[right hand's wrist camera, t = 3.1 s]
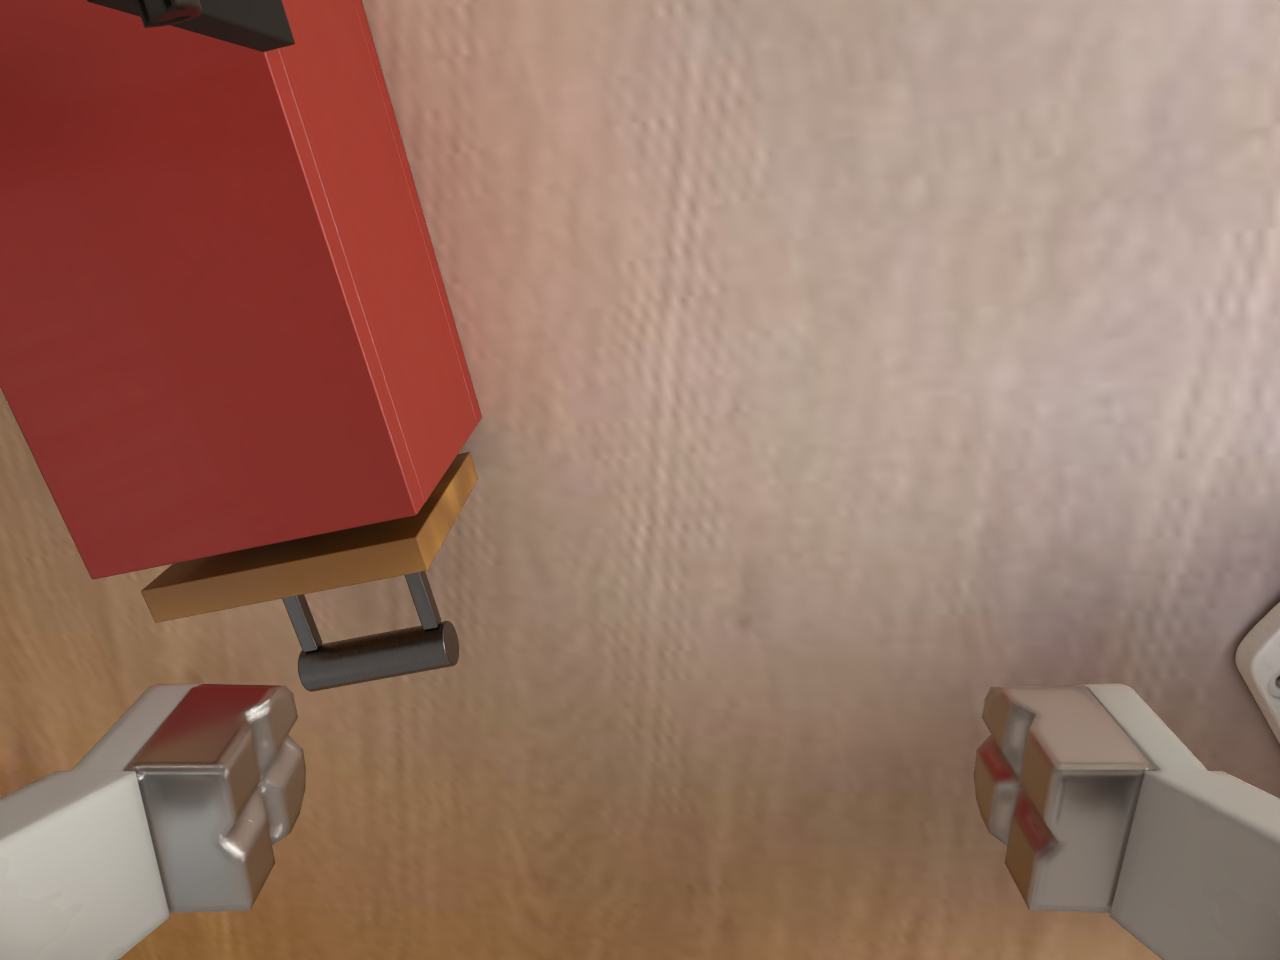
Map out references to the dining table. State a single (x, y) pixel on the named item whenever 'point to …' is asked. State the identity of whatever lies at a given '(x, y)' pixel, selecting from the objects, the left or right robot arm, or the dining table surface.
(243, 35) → the left robot arm
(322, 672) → the drawer
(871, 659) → the dining table surface
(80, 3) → the cabinet
